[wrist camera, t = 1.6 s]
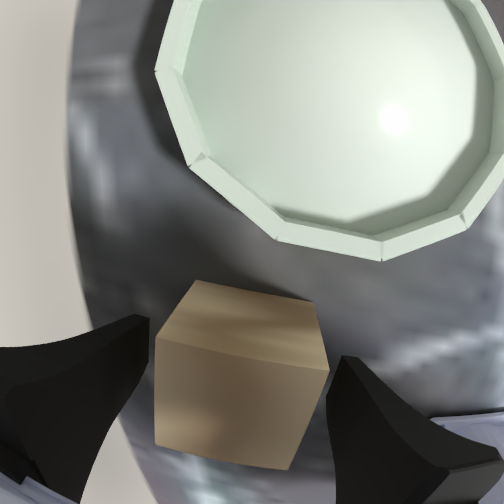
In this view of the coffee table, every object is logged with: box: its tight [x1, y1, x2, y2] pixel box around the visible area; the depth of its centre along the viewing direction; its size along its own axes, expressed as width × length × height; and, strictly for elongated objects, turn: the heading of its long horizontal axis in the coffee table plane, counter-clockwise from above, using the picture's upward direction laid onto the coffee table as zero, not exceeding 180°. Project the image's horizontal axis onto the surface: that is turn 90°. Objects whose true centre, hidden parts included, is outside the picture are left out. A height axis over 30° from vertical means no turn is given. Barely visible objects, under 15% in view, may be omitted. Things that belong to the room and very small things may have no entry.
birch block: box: [154, 280, 330, 470], centre depth 10 cm, size 4×4×4 cm
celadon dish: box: [155, 0, 504, 261], centre depth 9 cm, size 13×13×2 cm
